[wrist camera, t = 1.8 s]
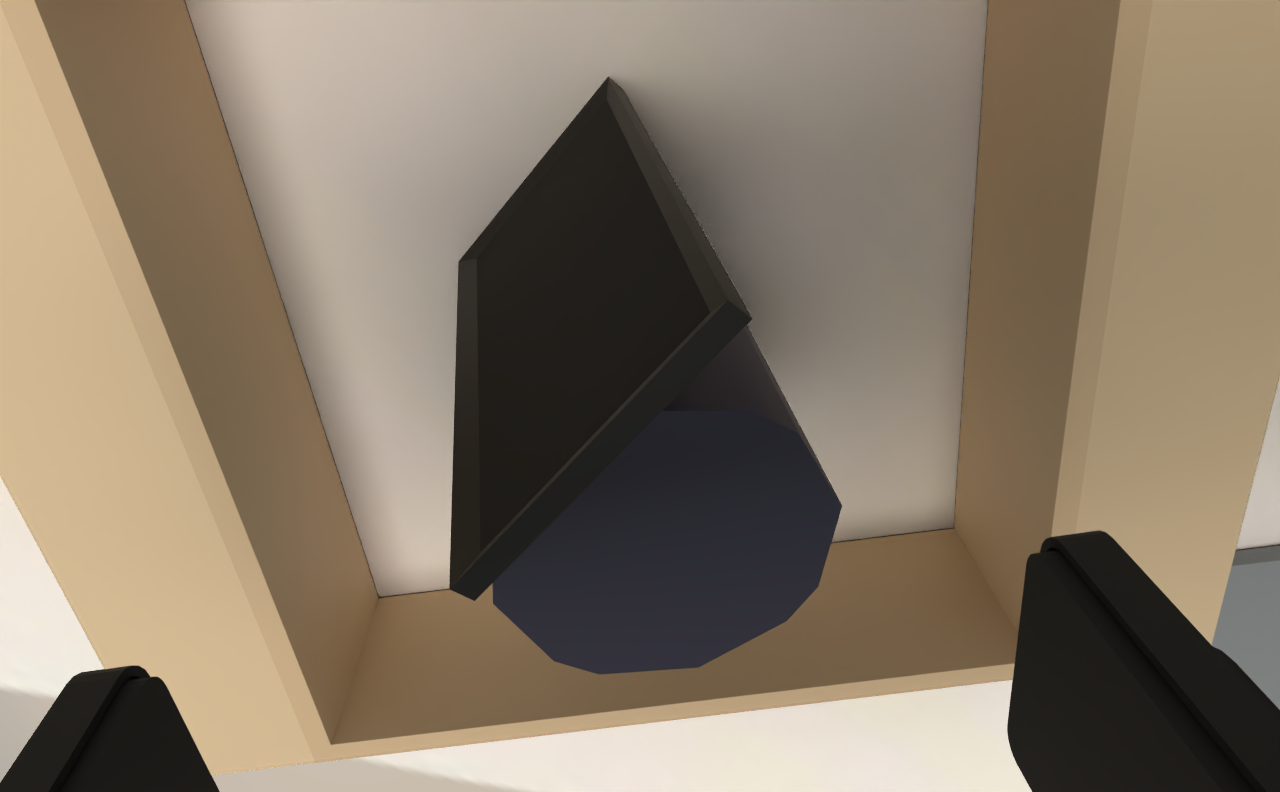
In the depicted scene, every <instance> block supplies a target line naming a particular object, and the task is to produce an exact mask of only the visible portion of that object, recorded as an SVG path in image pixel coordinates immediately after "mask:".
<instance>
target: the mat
mask: <svg viewBox="0 0 1280 792" xmlns="http://www.w3.org/2000/svg"><path fill="white" fill-rule="evenodd" d="M1212 646H1213V647H1215V648H1217V649H1220V650H1222V651H1223V652H1224V653H1225V654H1226V655H1228V656H1229V657H1230V658H1231V659H1232V660H1233V661H1235V662H1236V663H1237V664H1238V666H1239V667H1240V668H1241V669H1242V670H1243V671H1244V672H1245V673H1246V674H1247V675H1248V676H1249V677H1250V678H1251V680H1252V681H1253V682H1254V683H1255V684H1256V685H1257V686H1258V687H1259V688H1260V689H1261V690H1262V691H1263V692H1264V694H1265V695H1266V696H1267V697H1268V698H1269V699H1270V700H1271V701H1272V702H1273V703H1274V704H1275V705H1276V706H1277V707H1278V709H1279V710H1280V545H1279V546H1271V547H1263V548H1254V549H1246V550H1238V551H1235V554H1234V558H1233V562H1232V566H1231V570H1230V574H1229V578H1228V582H1227V586H1226V590H1225V594H1224V598H1223V602H1222V606H1221V610H1220V614H1219V618H1218V622H1217V626H1216V630H1215V633H1214V637H1213V641H1212Z"/></svg>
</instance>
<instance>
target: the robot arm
mask: <svg viewBox="0 0 1280 792" xmlns="http://www.w3.org/2000/svg"><path fill="white" fill-rule="evenodd" d="M1008 739H1009V743H1010V747H1011V750H1012V753H1013V756H1014V758H1015V761H1016V763H1017V765H1018V767H1019V768H1020V770H1021V772H1022V774H1023V776H1024V777H1025V779H1026V781H1027V783H1028V785H1029V787H1030V788H1031V790H1032V792H1280V710H1279V709H1278V707H1277V706H1276V705H1275V704H1274V703H1273V702H1272V701H1271V700H1270V699H1269V698H1268V697H1267V696H1266V695H1265V694H1264V692H1263V691H1262V690H1261V689H1260V688H1259V687H1258V686H1257V685H1256V684H1255V683H1254V682H1253V681H1252V680H1251V678H1250V677H1249V676H1248V675H1247V674H1246V673H1245V672H1244V671H1243V670H1242V669H1241V668H1240V667H1239V666H1238V664H1237V663H1236V662H1235V661H1233V660H1232V659H1231V658H1230V657H1229V656H1228V655H1226V654H1225V653H1224V652H1223V651H1222V650H1220V649H1217V648H1215V647H1213V646H1212V645H1211V644H1210V643H1209V642H1208V641H1207V640H1206V639H1205V638H1204V636H1203V635H1202V634H1201V633H1200V632H1199V631H1198V630H1197V629H1196V628H1195V627H1194V626H1193V624H1192V623H1191V622H1190V621H1189V620H1188V619H1187V618H1186V617H1185V616H1184V615H1183V614H1182V612H1181V611H1180V610H1179V609H1178V608H1177V607H1176V606H1175V605H1174V604H1173V603H1172V602H1171V601H1170V599H1169V598H1168V597H1167V596H1166V595H1165V594H1164V593H1163V592H1162V591H1161V590H1160V589H1159V587H1158V586H1157V585H1156V584H1155V583H1154V582H1153V581H1152V580H1151V579H1150V578H1149V577H1148V575H1147V574H1146V573H1145V572H1144V571H1143V570H1142V569H1141V568H1140V567H1139V566H1138V565H1137V564H1136V562H1135V561H1134V560H1133V559H1132V558H1131V557H1130V556H1129V555H1128V554H1127V553H1126V552H1125V550H1124V549H1123V548H1122V547H1121V546H1120V545H1119V544H1118V543H1117V542H1116V541H1115V540H1114V538H1112V537H1111V536H1110V535H1109V534H1108V533H1106V532H1103V531H1100V530H1098V531H1091V532H1083V533H1076V534H1069V535H1062V536H1055V537H1049V538H1047V539H1045V540H1044V542H1043V543H1042V545H1041V549H1040V553H1033V554H1030V556H1029V557H1028V559H1027V563H1026V571H1025V579H1024V588H1023V596H1022V605H1021V614H1020V622H1019V631H1018V640H1017V648H1016V657H1015V665H1014V674H1013V683H1012V691H1011V700H1010V709H1009V717H1008ZM0 792H219V790H218V788H217V786H216V784H215V782H214V780H213V778H212V776H211V774H210V772H209V770H208V768H207V766H206V764H205V762H204V760H203V758H202V756H201V754H200V752H199V750H198V748H197V746H196V744H195V742H194V740H193V738H192V736H191V734H190V732H189V730H188V728H187V726H186V724H185V722H184V720H183V718H182V716H181V714H180V712H179V710H178V708H177V706H176V704H175V702H174V700H173V698H172V696H171V694H170V692H169V690H168V688H167V686H166V684H165V683H164V681H163V680H162V679H160V678H159V677H150V675H149V674H148V673H147V671H146V670H145V669H144V668H142V667H140V666H135V665H131V666H124V667H117V668H110V669H103V670H96V671H88V672H81V673H79V674H78V675H76V676H74V677H73V678H72V679H71V680H70V681H69V682H68V683H67V684H66V686H65V687H64V689H63V690H62V692H61V693H60V695H59V696H58V698H57V699H56V701H55V702H54V704H53V705H52V707H51V708H50V710H49V711H48V713H47V714H46V716H45V717H44V719H43V720H42V721H41V723H40V725H39V726H38V728H37V729H36V730H35V732H34V733H33V735H32V736H31V738H30V739H29V741H28V742H27V744H26V745H25V747H24V748H23V750H22V751H21V753H20V754H19V756H18V757H17V759H16V760H15V762H14V763H13V765H12V766H11V768H10V769H9V771H8V772H7V774H6V775H5V777H4V778H3V780H2V781H1V783H0Z"/></svg>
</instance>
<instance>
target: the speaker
mask: <svg viewBox="0 0 1280 792" xmlns="http://www.w3.org/2000/svg"><path fill="white" fill-rule="evenodd" d="M751 320H752V318H751V316H750V314H749V312H748V311H747V309H746V307H745V305H744V303H743V302H742V300H741V298H740V296H739V295H738V293H737V291H736V289H735V288H734V286H733V284H732V282H731V280H730V279H729V277H728V275H727V273H726V272H725V270H724V268H723V266H722V264H721V263H720V261H719V259H718V257H717V256H716V254H715V252H714V250H713V249H712V247H711V245H710V243H709V241H708V240H707V238H706V236H705V234H704V233H703V231H702V229H701V227H700V226H699V224H698V222H697V220H696V218H695V217H694V215H693V213H692V211H691V210H690V208H689V206H688V204H687V203H686V201H685V199H684V197H683V195H682V194H681V192H680V190H679V188H678V187H677V185H676V183H675V181H674V179H673V178H672V176H671V174H670V172H669V171H668V169H667V167H666V165H665V164H664V162H663V160H662V158H661V156H660V155H659V153H658V151H657V149H656V148H655V146H654V144H653V142H652V141H651V139H650V137H649V135H648V133H647V132H646V130H645V128H644V126H643V125H642V123H641V121H640V119H639V118H638V116H637V114H636V112H635V110H634V109H633V107H632V105H631V103H630V102H629V100H628V98H627V96H626V94H625V93H624V91H623V89H622V88H620V87H619V86H618V85H617V84H616V83H615V82H614V81H612V80H611V79H610V78H609V77H608V78H607V79H606V80H605V81H604V83H603V84H602V85H601V86H600V88H599V89H598V90H597V91H596V93H595V94H594V95H593V96H592V98H591V99H590V100H589V101H588V103H587V104H586V105H585V106H584V107H583V109H582V110H581V111H580V112H579V114H578V115H577V116H576V117H575V119H574V120H573V121H572V122H571V124H570V125H569V126H568V127H567V128H566V130H565V131H564V132H563V133H562V135H561V136H560V137H559V138H558V140H557V141H556V142H555V143H554V145H553V146H552V147H551V148H550V150H549V151H548V152H547V153H546V154H545V156H544V157H543V158H542V159H541V161H540V162H539V163H538V164H537V166H536V167H535V168H534V169H533V171H532V172H531V173H530V174H529V176H528V177H527V178H526V179H525V180H524V182H523V183H522V184H521V185H520V187H519V188H518V189H517V190H516V192H515V193H514V194H513V195H512V197H511V198H510V199H509V200H508V201H507V203H506V204H505V205H504V206H503V208H502V209H501V210H500V211H499V213H498V214H497V215H496V216H495V218H494V219H493V220H492V221H491V223H490V224H489V225H488V226H487V227H486V229H485V230H484V231H483V232H482V234H481V235H480V236H479V237H478V239H477V240H476V241H475V242H474V244H473V245H472V246H471V247H470V248H469V250H468V251H467V252H466V253H465V255H464V256H463V257H462V258H461V260H460V261H459V266H458V302H457V338H456V374H455V410H454V446H453V482H452V518H451V554H450V590H452V591H454V592H456V593H458V594H460V595H463V596H465V597H467V598H469V599H471V600H473V601H475V600H476V599H477V598H478V597H479V596H480V595H481V594H482V593H483V592H484V591H485V590H486V589H487V588H488V587H489V586H490V585H491V584H493V604H494V605H495V606H496V607H497V608H498V609H499V610H500V611H501V612H502V613H503V614H504V615H505V616H506V617H508V618H509V619H510V620H511V621H512V622H513V623H514V624H515V625H516V626H517V627H518V628H519V629H520V630H521V631H522V632H523V633H524V634H526V635H527V636H528V637H529V638H530V639H531V640H532V641H533V642H534V643H535V644H536V645H537V646H538V647H539V648H540V649H541V650H543V651H544V652H545V653H546V654H547V655H548V656H549V657H550V658H551V659H552V660H553V661H554V662H558V663H561V664H564V665H568V666H571V667H575V668H578V669H582V670H585V671H589V672H592V673H596V674H599V675H600V674H614V673H629V672H643V671H657V670H672V669H686V668H699V667H701V666H703V665H704V664H706V663H708V662H710V661H712V660H714V659H716V658H718V657H720V656H722V655H723V654H725V653H727V652H729V651H731V650H733V649H735V648H737V647H739V646H741V645H742V644H744V643H746V642H748V641H750V640H752V639H754V638H756V637H758V636H760V635H762V634H763V633H765V632H767V631H769V630H771V629H773V628H775V627H777V626H779V625H781V624H782V623H784V622H786V621H787V620H788V619H789V618H790V617H791V616H792V615H793V614H794V613H795V612H796V611H797V609H798V608H799V607H800V606H801V605H802V604H803V603H804V602H805V601H806V600H807V599H808V598H809V596H810V595H811V594H812V593H813V592H814V591H815V590H816V589H817V588H818V586H819V583H820V580H821V576H822V573H823V569H824V566H825V562H826V559H827V556H828V552H829V549H830V545H831V542H832V538H833V535H834V532H835V528H836V525H837V521H838V518H839V514H840V511H841V508H842V505H841V503H840V501H839V499H838V497H837V495H836V493H835V491H834V490H833V488H832V486H831V484H830V482H829V480H828V478H827V476H826V474H825V472H824V471H823V469H822V467H821V465H820V463H819V461H818V459H817V457H816V455H815V454H814V452H813V450H812V448H811V446H810V444H809V442H808V440H807V438H806V437H805V435H804V433H803V431H802V429H801V427H800V425H799V423H798V421H797V419H796V418H795V416H794V414H793V412H792V410H791V408H790V406H789V404H788V402H787V401H786V399H785V397H784V395H783V393H782V391H781V389H780V387H779V385H778V383H777V382H776V380H775V378H774V376H773V374H772V372H771V370H770V368H769V366H768V365H767V363H766V361H765V359H764V357H763V355H762V353H761V351H760V349H759V348H758V346H757V344H756V342H755V340H754V338H753V336H752V334H751V332H750V330H749V329H748V327H747V324H748V323H749V322H750V321H751Z"/></svg>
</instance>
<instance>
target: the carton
mask: <svg viewBox="0 0 1280 792" xmlns="http://www.w3.org/2000/svg"><path fill="white" fill-rule="evenodd" d="M1279 377H1280V0H988V15H987V30H986V46H985V61H984V76H983V91H982V107H981V122H980V137H979V153H978V168H977V183H976V198H975V214H974V229H973V244H972V260H971V275H970V290H969V305H968V321H967V336H966V351H965V366H964V382H963V397H962V412H961V428H960V443H959V458H958V473H957V489H956V504H955V519H954V529H946V530H937V531H929V532H921V533H912V534H904V535H896V536H888V537H879V538H871V539H863V540H855V541H846V542H838V543H831V545H830V549H829V552H828V556H827V559H826V562H825V566H824V569H823V573H822V576H821V580H820V583H819V586H818V588H817V589H816V590H815V591H814V592H813V593H812V594H811V595H810V596H809V598H808V599H807V600H806V601H805V602H804V603H803V604H802V605H801V606H800V607H799V608H798V609H797V611H796V612H795V613H794V614H793V615H792V616H791V617H790V618H789V619H788V620H787V621H786V622H784V623H782V624H781V625H779V626H777V627H775V628H773V629H771V630H769V631H767V632H765V633H763V634H762V635H760V636H758V637H756V638H754V639H752V640H750V641H748V642H746V643H744V644H742V645H741V646H739V647H737V648H735V649H733V650H731V651H729V652H727V653H725V654H723V655H722V656H720V657H718V658H716V659H714V660H712V661H710V662H708V663H706V664H704V665H703V666H701V667H699V668H686V669H672V670H657V671H643V672H629V673H614V674H600V675H599V674H596V673H592V672H589V671H585V670H582V669H578V668H575V667H571V666H568V665H564V664H561V663H558V662H554V661H553V660H552V659H551V658H550V657H549V656H548V655H547V654H546V653H545V652H544V651H543V650H541V649H540V648H539V647H538V646H537V645H536V644H535V643H534V642H533V641H532V640H531V639H530V638H529V637H528V636H527V635H526V634H524V633H523V632H522V631H521V630H520V629H519V628H518V627H517V626H516V625H515V624H514V623H513V622H512V621H511V620H510V619H509V618H508V617H506V616H505V615H504V614H503V613H502V612H501V611H500V610H499V609H498V608H497V607H496V606H495V605H494V604H493V584H491V585H490V586H489V587H488V588H487V589H486V590H485V591H484V592H483V593H482V594H481V595H480V596H479V597H478V598H477V599H476V600H475V601H473V600H471V599H469V598H467V597H465V596H463V595H460V594H458V593H456V592H454V591H452V590H441V591H433V592H425V593H416V594H408V595H400V596H392V597H383V598H378V595H377V591H376V588H375V585H374V582H373V579H372V576H371V573H370V570H369V567H368V564H367V561H366V558H365V555H364V552H363V548H362V545H361V542H360V539H359V536H358V533H357V530H356V527H355V524H354V521H353V518H352V515H351V512H350V509H349V505H348V502H347V499H346V496H345V493H344V490H343V487H342V484H341V481H340V478H339V475H338V472H337V469H336V466H335V462H334V459H333V456H332V453H331V450H330V447H329V444H328V441H327V438H326V435H325V432H324V429H323V426H322V422H321V419H320V416H319V413H318V410H317V407H316V404H315V401H314V398H313V395H312V392H311V389H310V386H309V383H308V379H307V376H306V373H305V370H304V367H303V364H302V361H301V358H300V355H299V352H298V349H297V346H296V343H295V340H294V336H293V333H292V330H291V327H290V324H289V321H288V318H287V315H286V312H285V309H284V306H283V303H282V300H281V297H280V293H279V290H278V287H277V284H276V281H275V278H274V275H273V272H272V269H271V266H270V263H269V260H268V257H267V253H266V250H265V247H264V244H263V241H262V238H261V235H260V232H259V229H258V226H257V223H256V220H255V217H254V214H253V210H252V207H251V204H250V201H249V198H248V195H247V192H246V189H245V186H244V183H243V180H242V177H241V174H240V171H239V167H238V164H237V161H236V158H235V155H234V152H233V149H232V146H231V143H230V140H229V137H228V134H227V131H226V128H225V124H224V121H223V118H222V115H221V112H220V109H219V106H218V103H217V100H216V97H215V94H214V91H213V88H212V84H211V81H210V78H209V75H208V72H207V69H206V66H205V63H204V60H203V57H202V54H201V51H200V48H199V45H198V41H197V38H196V35H195V32H194V29H193V26H192V23H191V20H190V17H189V14H188V11H187V8H186V5H185V2H184V0H0V476H1V478H2V480H3V482H4V484H5V485H6V487H7V489H8V491H9V493H10V495H11V497H12V498H13V500H14V502H15V504H16V506H17V508H18V510H19V511H20V513H21V515H22V517H23V519H24V521H25V523H26V524H27V526H28V528H29V530H30V532H31V534H32V535H33V537H34V539H35V541H36V543H37V545H38V547H39V548H40V550H41V552H42V554H43V556H44V558H45V560H46V561H47V563H48V565H49V567H50V569H51V571H52V573H53V574H54V576H55V578H56V580H57V582H58V584H59V586H60V587H61V589H62V591H63V593H64V595H65V597H66V599H67V600H68V602H69V604H70V606H71V608H72V610H73V612H74V613H75V615H76V617H77V619H78V621H79V623H80V624H81V626H82V628H83V630H84V632H85V634H86V636H87V637H88V639H89V641H90V643H91V645H92V647H93V649H94V650H95V652H96V654H97V656H98V658H99V660H100V662H101V663H102V665H103V667H104V669H110V668H117V667H124V666H131V665H135V666H140V667H142V668H144V669H145V670H146V671H147V673H148V674H149V675H150V677H159V678H160V679H162V680H163V681H164V683H165V684H166V686H167V688H168V690H169V692H170V694H171V696H172V698H173V700H174V702H175V704H176V706H177V708H178V710H179V712H180V714H181V716H182V718H183V720H184V722H185V724H186V726H187V728H188V730H189V732H190V734H191V736H192V738H193V740H194V742H195V744H196V746H197V748H198V750H199V752H200V754H201V756H202V758H203V760H204V762H205V764H206V766H207V768H208V770H209V772H210V774H211V775H216V774H224V773H233V772H241V771H249V770H258V769H266V768H275V767H283V766H291V765H300V764H307V763H316V762H325V761H333V760H342V759H350V758H359V757H367V756H375V755H384V754H392V753H401V752H409V751H417V750H426V749H434V748H443V747H451V746H459V745H468V744H476V743H485V742H493V741H501V740H510V739H518V738H527V737H535V736H543V735H552V734H560V733H569V732H577V731H585V730H594V729H602V728H611V727H619V726H627V725H636V724H644V723H652V722H661V721H669V720H678V719H686V718H694V717H703V716H711V715H720V714H728V713H736V712H745V711H753V710H762V709H770V708H778V707H787V706H795V705H804V704H812V703H820V702H829V701H837V700H846V699H854V698H862V697H871V696H879V695H888V694H896V693H904V692H913V691H921V690H930V689H938V688H946V687H955V686H963V685H972V684H980V683H988V682H997V681H1005V680H1013V674H1014V665H1015V657H1016V648H1017V640H1018V631H1019V622H1020V614H1021V605H1022V596H1023V588H1024V579H1025V571H1026V563H1027V559H1028V557H1029V556H1030V554H1033V553H1040V549H1041V545H1042V543H1043V542H1044V540H1045V539H1047V538H1049V537H1055V536H1062V535H1069V534H1076V533H1083V532H1091V531H1098V530H1100V531H1103V532H1106V533H1108V534H1109V535H1110V536H1111V537H1112V538H1114V540H1115V541H1116V542H1117V543H1118V544H1119V545H1120V546H1121V547H1122V548H1123V549H1124V550H1125V552H1126V553H1127V554H1128V555H1129V556H1130V557H1131V558H1132V559H1133V560H1134V561H1135V562H1136V564H1137V565H1138V566H1139V567H1140V568H1141V569H1142V570H1143V571H1144V572H1145V573H1146V574H1147V575H1148V577H1149V578H1150V579H1151V580H1152V581H1153V582H1154V583H1155V584H1156V585H1157V586H1158V587H1159V589H1160V590H1161V591H1162V592H1163V593H1164V594H1165V595H1166V596H1167V597H1168V598H1169V599H1170V601H1171V602H1172V603H1173V604H1174V605H1175V606H1176V607H1177V608H1178V609H1179V610H1180V611H1181V612H1182V614H1183V615H1184V616H1185V617H1186V618H1187V619H1188V620H1189V621H1190V622H1191V623H1192V624H1193V626H1194V627H1195V628H1196V629H1197V630H1198V631H1199V632H1200V633H1201V634H1202V635H1203V636H1204V638H1205V639H1206V640H1207V641H1208V642H1209V643H1210V644H1211V645H1212V641H1213V637H1214V633H1215V630H1216V626H1217V622H1218V618H1219V614H1220V610H1221V606H1222V602H1223V598H1224V594H1225V590H1226V586H1227V582H1228V578H1229V574H1230V570H1231V566H1232V562H1233V558H1234V554H1235V551H1236V547H1237V543H1238V539H1239V535H1240V531H1241V527H1242V523H1243V519H1244V515H1245V511H1246V507H1247V503H1248V499H1249V495H1250V491H1251V487H1252V483H1253V479H1254V475H1255V472H1256V468H1257V464H1258V460H1259V456H1260V452H1261V448H1262V444H1263V440H1264V436H1265V432H1266V428H1267V424H1268V420H1269V416H1270V412H1271V408H1272V404H1273V400H1274V397H1275V393H1276V389H1277V385H1278V381H1279Z"/></svg>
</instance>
